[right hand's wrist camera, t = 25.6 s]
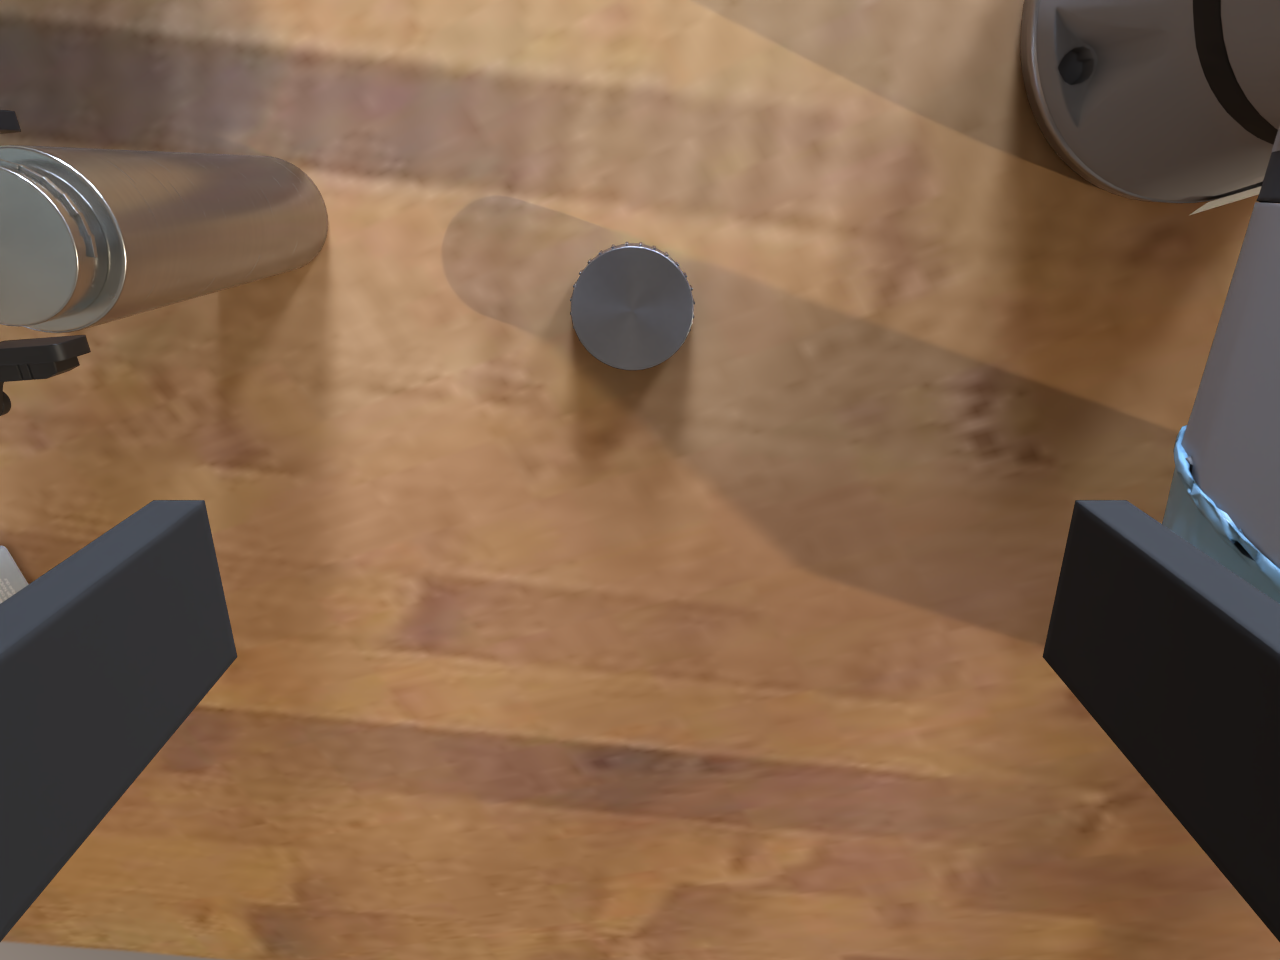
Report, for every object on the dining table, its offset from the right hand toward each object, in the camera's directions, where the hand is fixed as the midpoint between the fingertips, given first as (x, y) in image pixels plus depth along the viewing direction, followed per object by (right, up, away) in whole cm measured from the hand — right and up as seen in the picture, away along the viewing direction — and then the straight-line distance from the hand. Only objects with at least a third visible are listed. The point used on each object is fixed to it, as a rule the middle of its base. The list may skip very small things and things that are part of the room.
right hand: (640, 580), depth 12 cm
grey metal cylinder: (-17, +14, +24) cm, 33 cm away
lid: (0, +9, +25) cm, 26 cm away
